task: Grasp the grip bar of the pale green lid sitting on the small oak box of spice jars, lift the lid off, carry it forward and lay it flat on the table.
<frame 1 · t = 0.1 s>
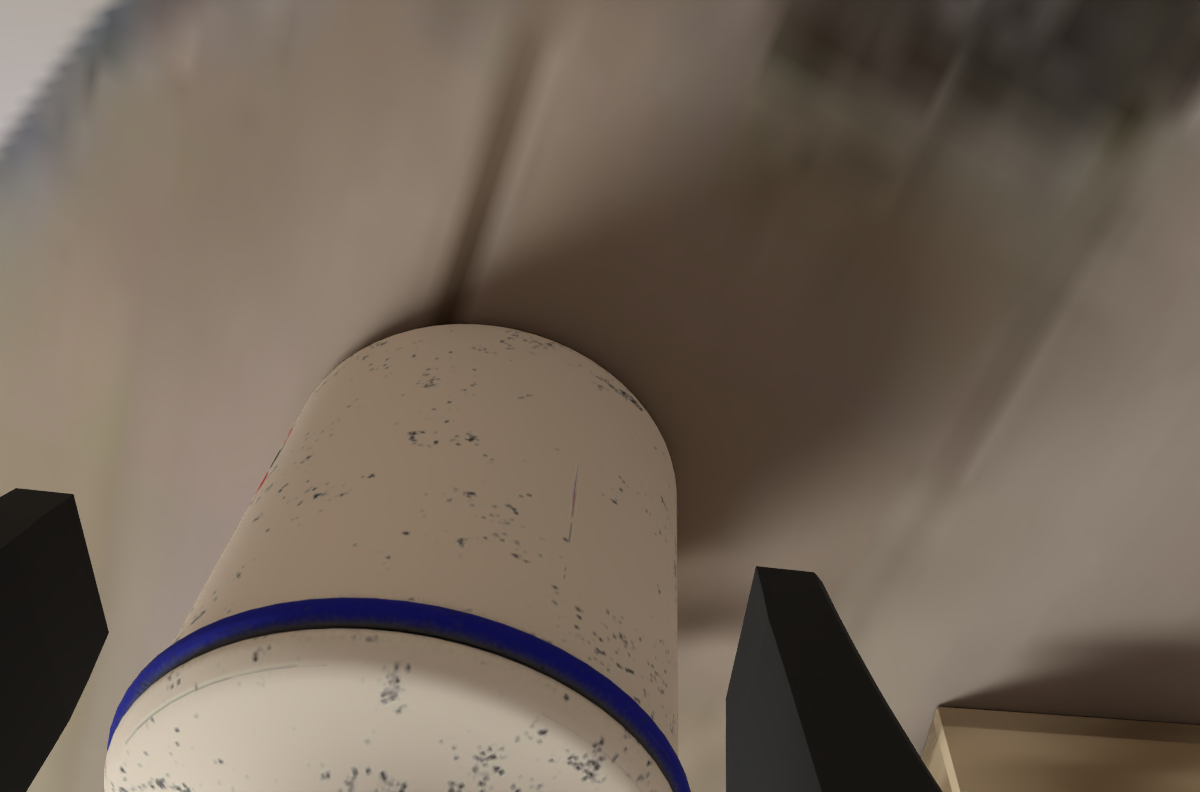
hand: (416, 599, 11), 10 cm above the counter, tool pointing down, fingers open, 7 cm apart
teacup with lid: (507, 525, 24), on the counter
box: (1071, 772, 27), on the counter
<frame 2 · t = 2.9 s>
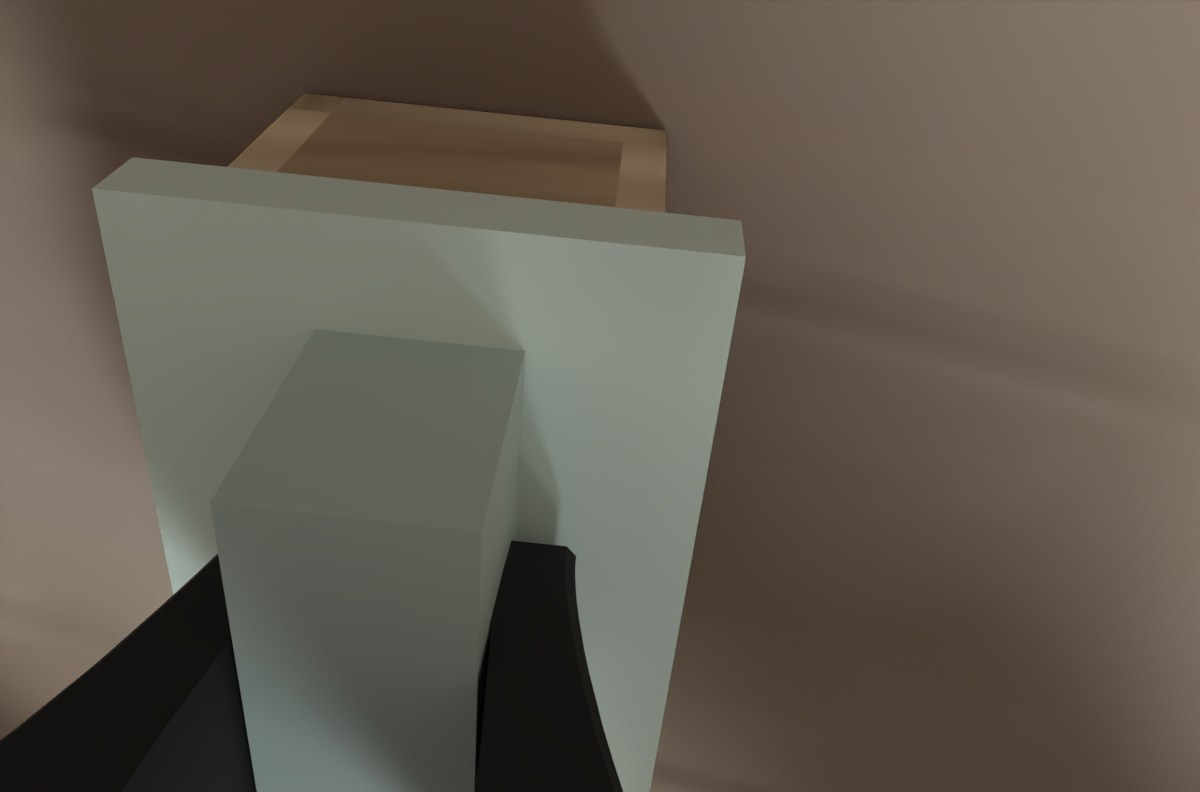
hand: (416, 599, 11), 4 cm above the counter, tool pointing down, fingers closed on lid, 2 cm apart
box: (478, 389, 14), on the counter
lid: (437, 526, 12), point 3 cm above the counter, touching box, gripper
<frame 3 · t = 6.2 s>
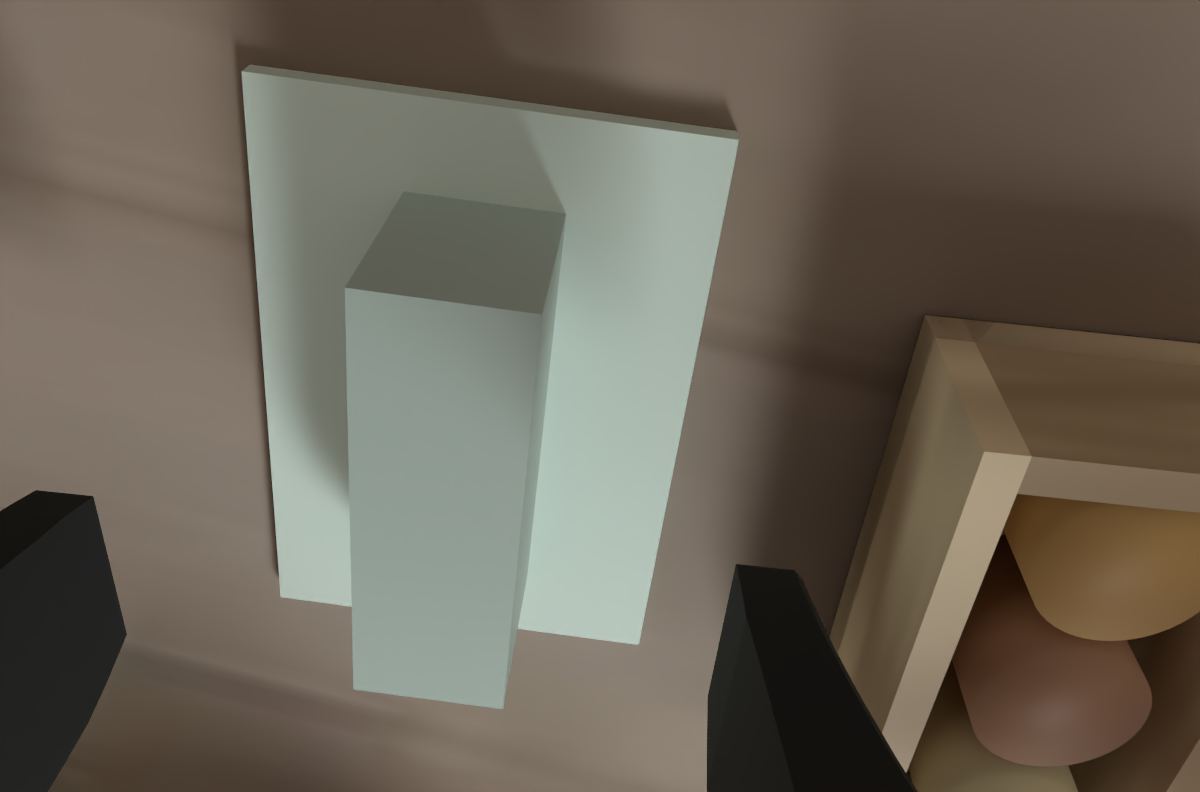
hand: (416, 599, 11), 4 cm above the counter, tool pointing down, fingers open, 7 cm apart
box: (1001, 562, 15), on the counter
lid: (482, 375, 15), on the counter
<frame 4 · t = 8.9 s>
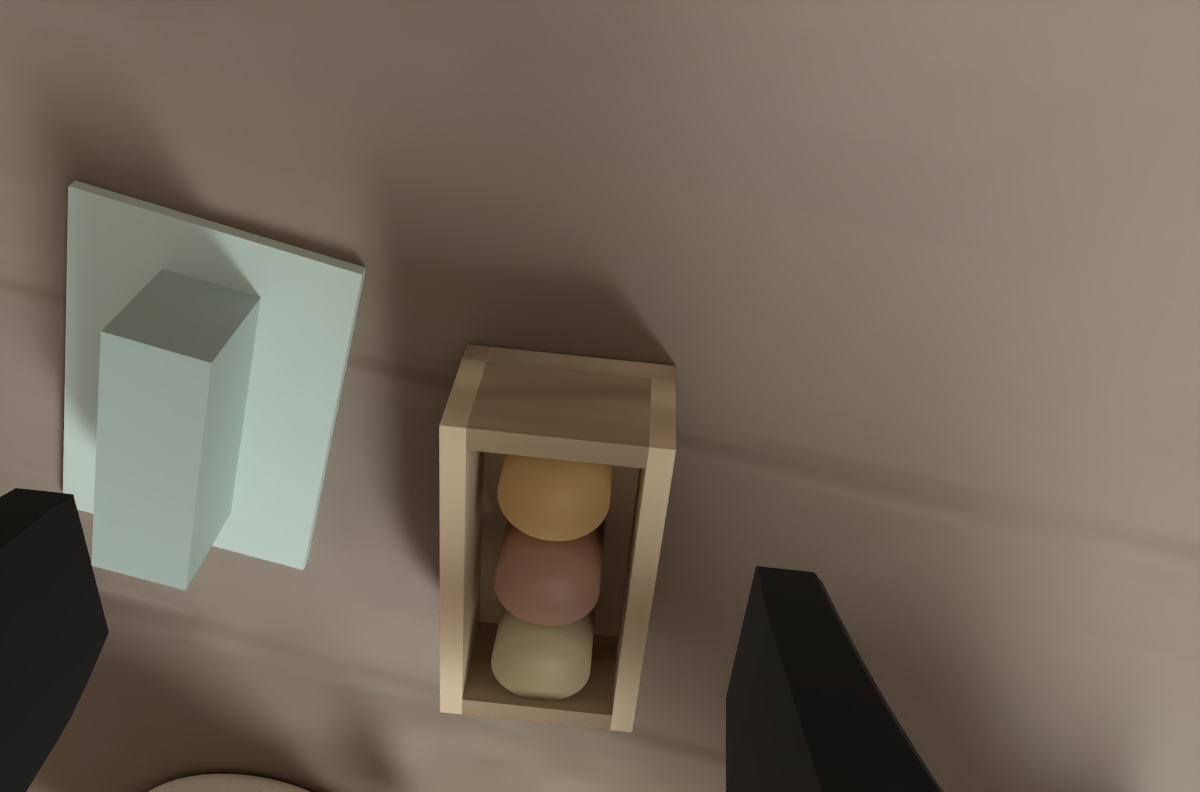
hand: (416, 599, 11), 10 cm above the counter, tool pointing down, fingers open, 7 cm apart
box: (559, 502, 23), on the counter
lid: (213, 380, 23), on the counter
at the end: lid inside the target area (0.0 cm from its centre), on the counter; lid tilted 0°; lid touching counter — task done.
